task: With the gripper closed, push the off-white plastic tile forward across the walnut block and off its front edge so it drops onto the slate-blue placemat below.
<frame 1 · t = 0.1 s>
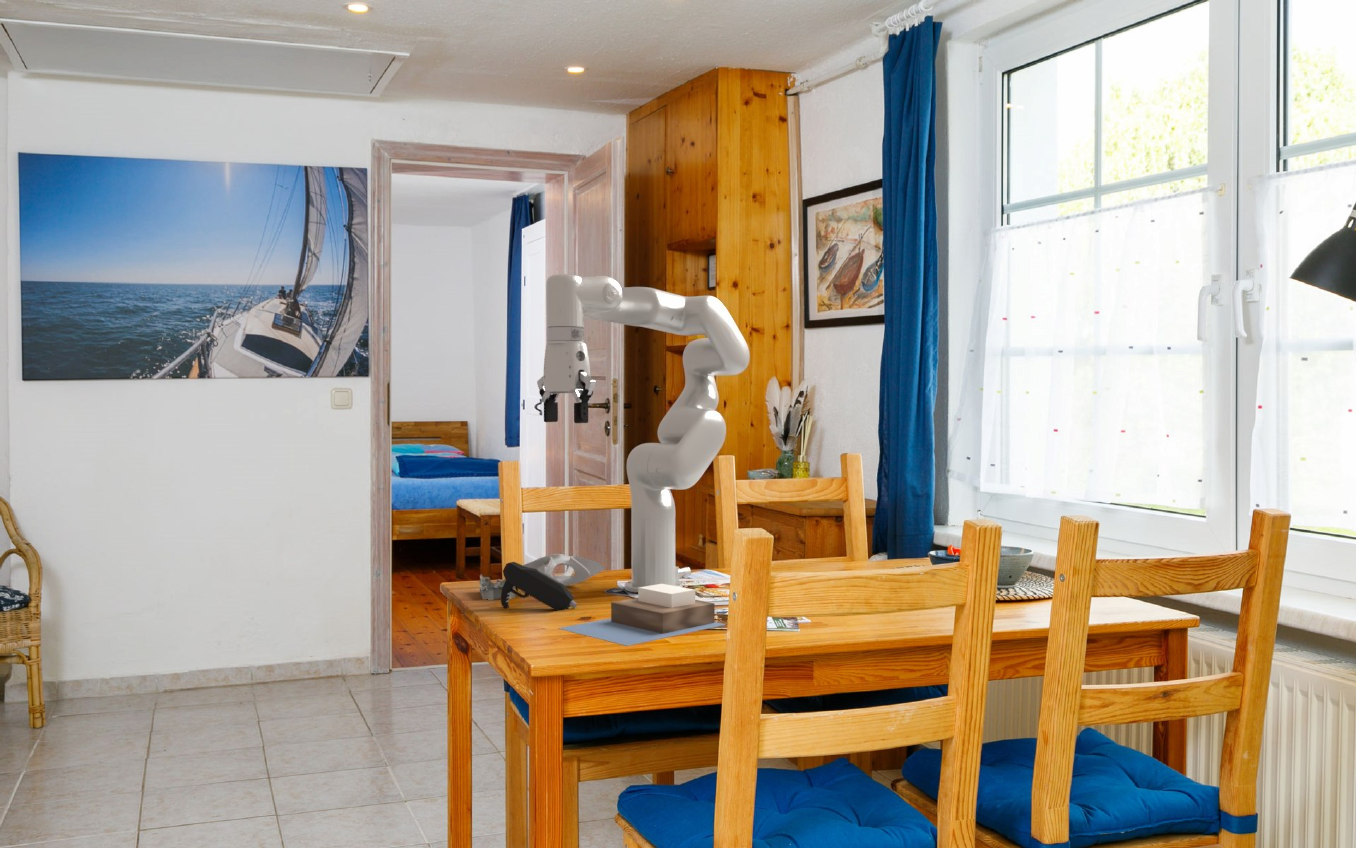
hand: (565, 422, 224), 37 cm above the table, tool pointing down, fingers open, 9 cm apart
sculpture: (559, 584, 249), on the table
block: (662, 622, 206), resting on placemat
tile: (666, 602, 206), point 4 cm above the table, touching block
grey castle ruin model: (498, 597, 235), on the table
placemat: (642, 628, 202), on the table
gun: (539, 611, 220), on the table
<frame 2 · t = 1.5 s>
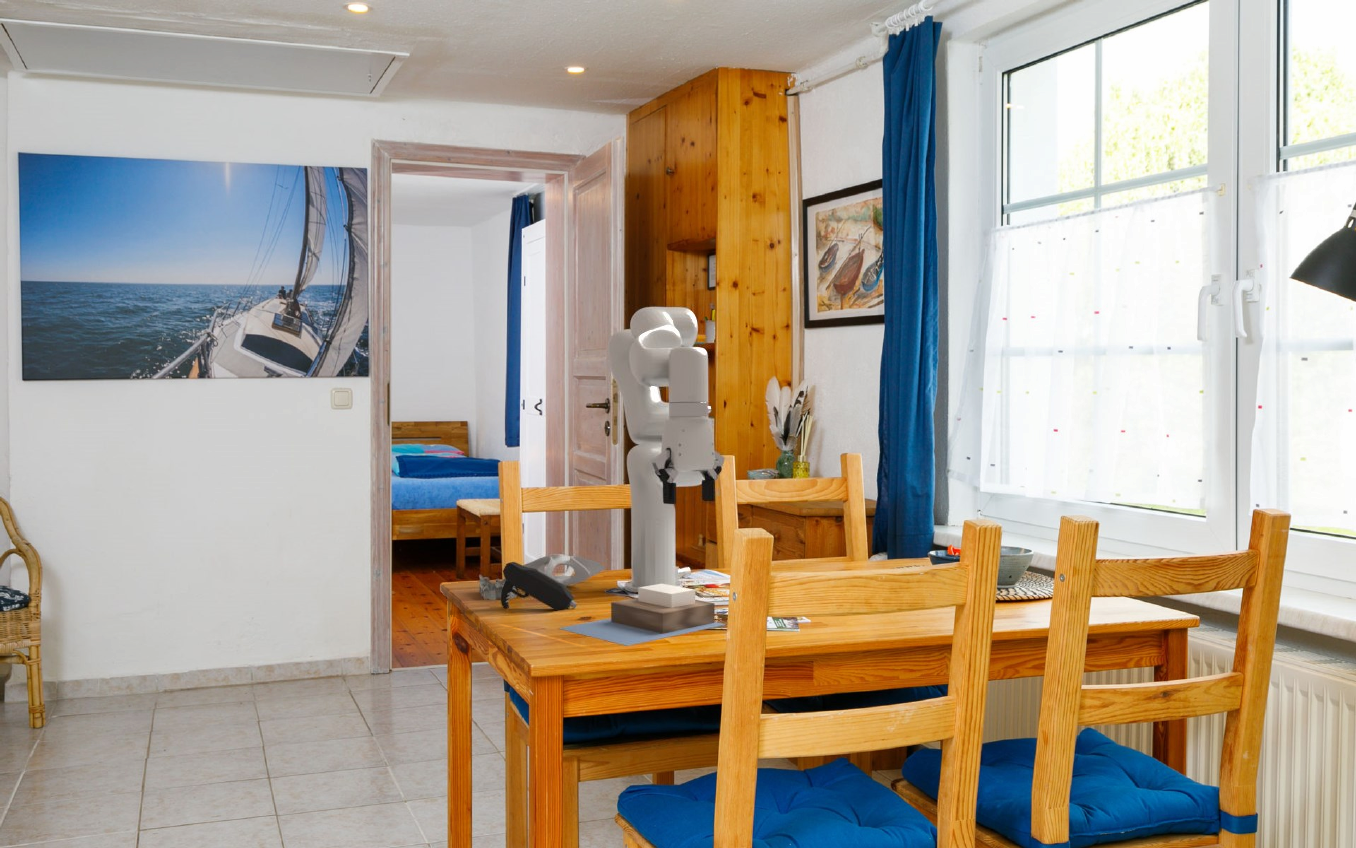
hand: (689, 502, 212), 22 cm above the table, tool pointing down, fingers open, 9 cm apart
nothing on the table moved.
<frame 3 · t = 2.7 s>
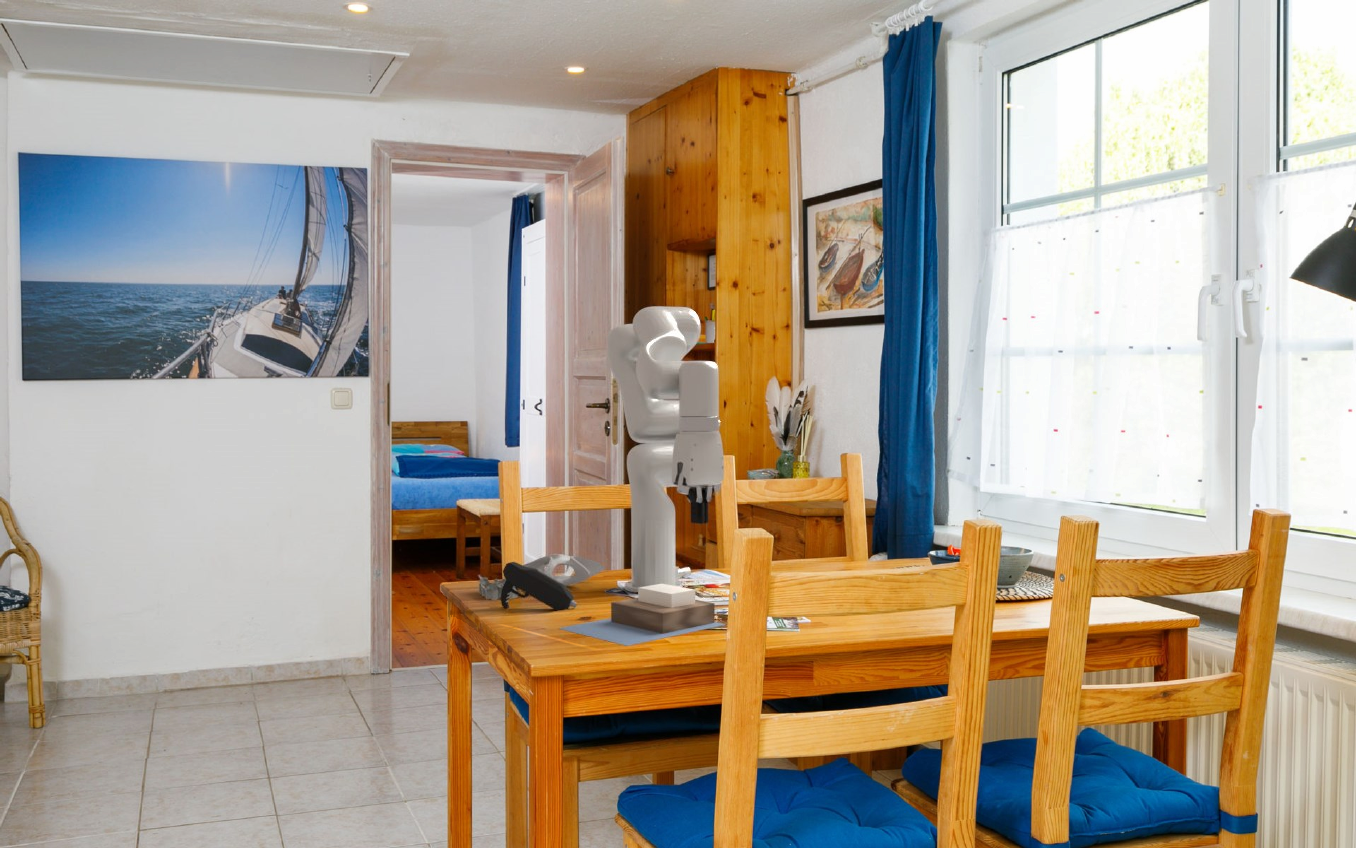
hand: (699, 522, 211), 18 cm above the table, tool pointing down, fingers closed
nothing on the table moved.
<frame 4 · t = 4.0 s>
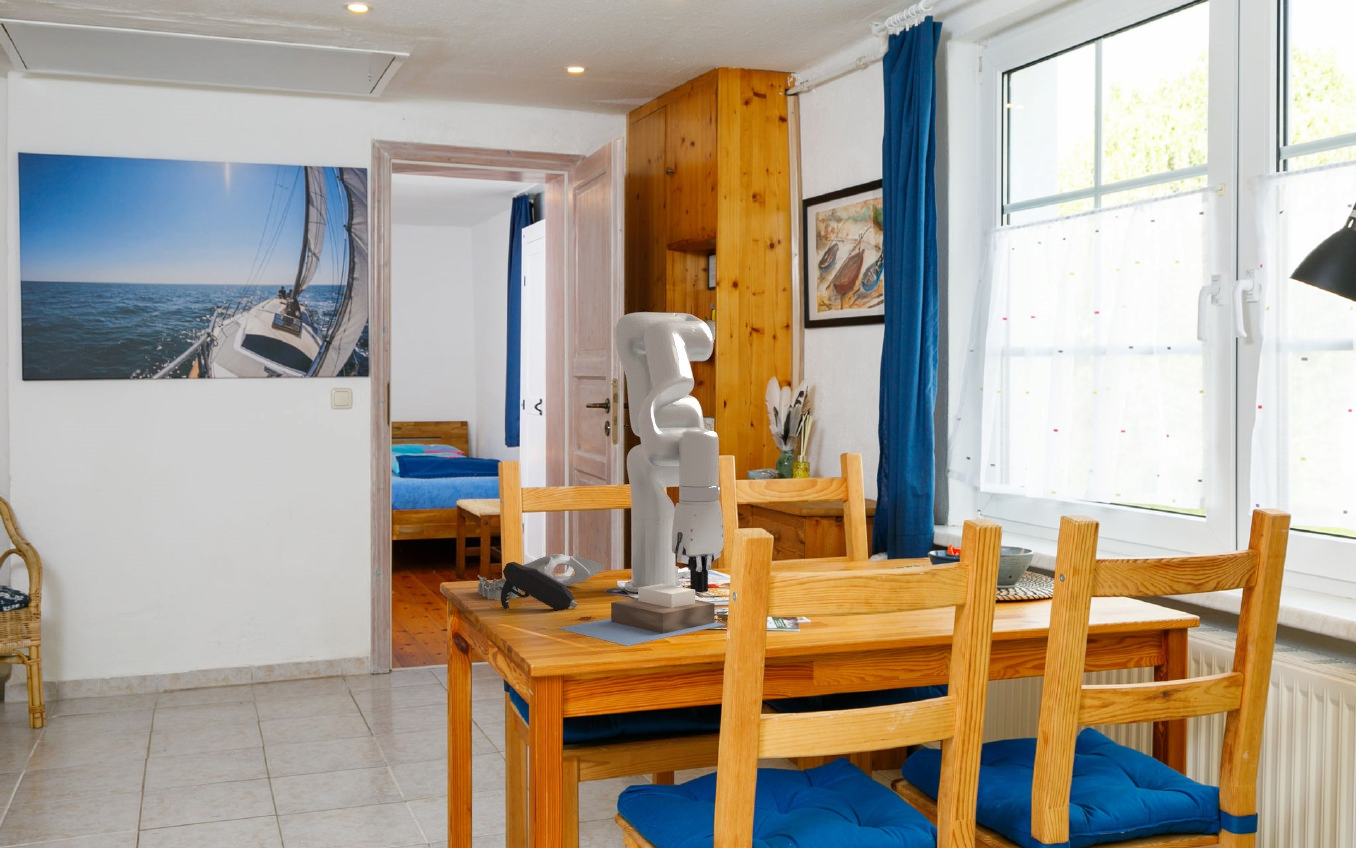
hand: (699, 591, 212), 5 cm above the table, tool pointing down, fingers closed
nothing on the table moved.
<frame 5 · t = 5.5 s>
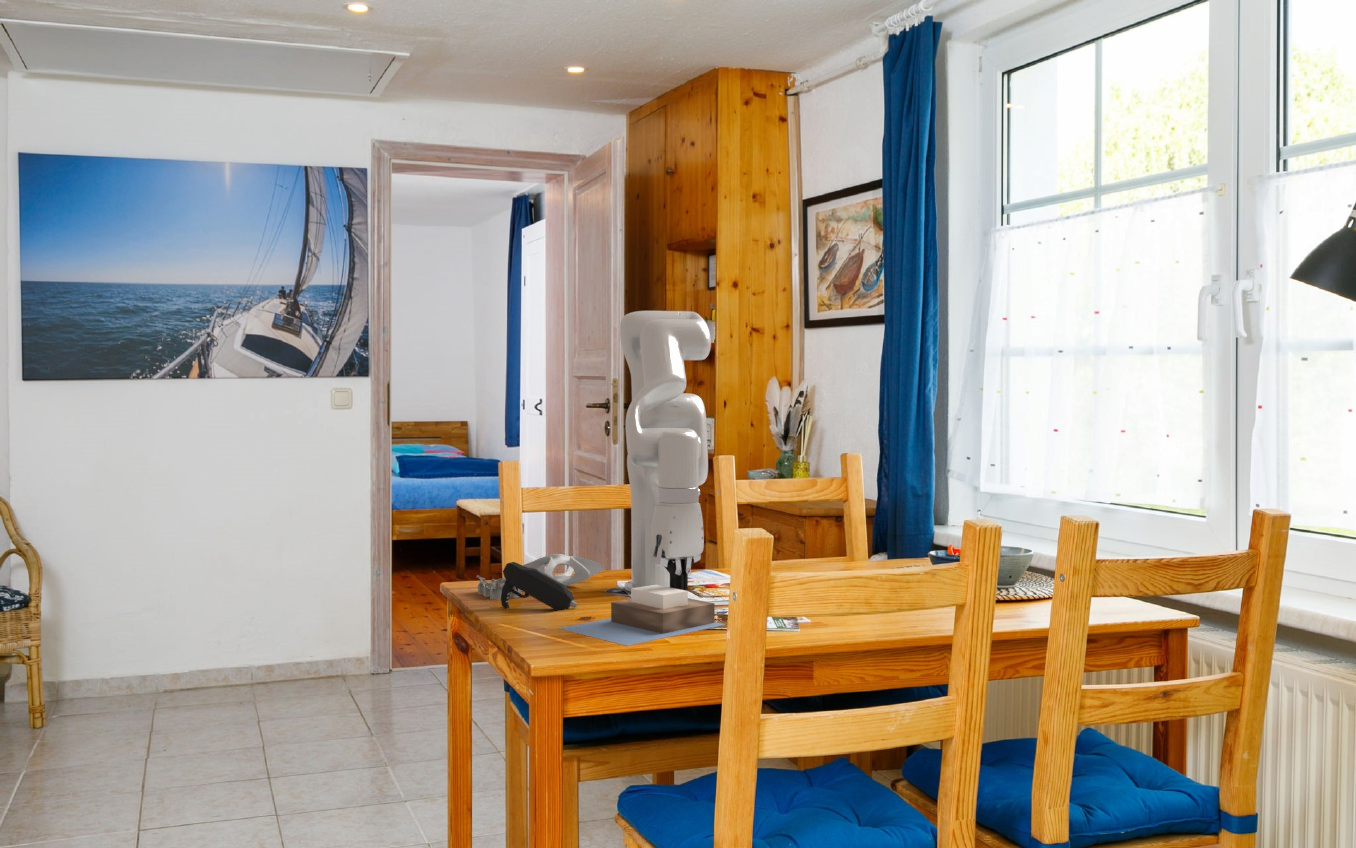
hand: (678, 594, 208), 5 cm above the table, tool pointing down, fingers closed
tile: (659, 603, 205), point 4 cm above the table, touching block, gripper
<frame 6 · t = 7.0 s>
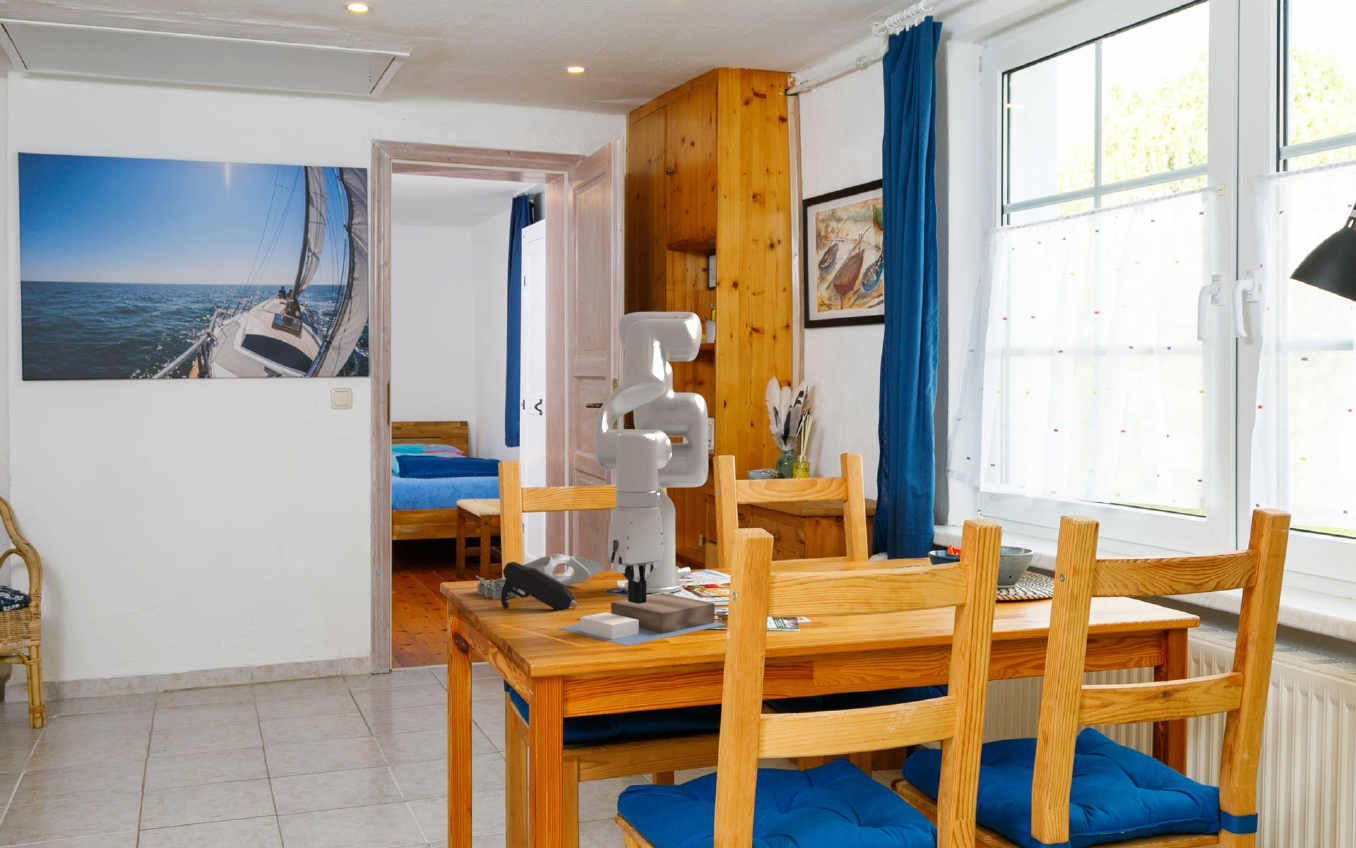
hand: (637, 602, 201), 5 cm above the table, tool pointing down, fingers closed
tile: (609, 618, 197), point 3 cm above the table, tilted 180°, touching placemat
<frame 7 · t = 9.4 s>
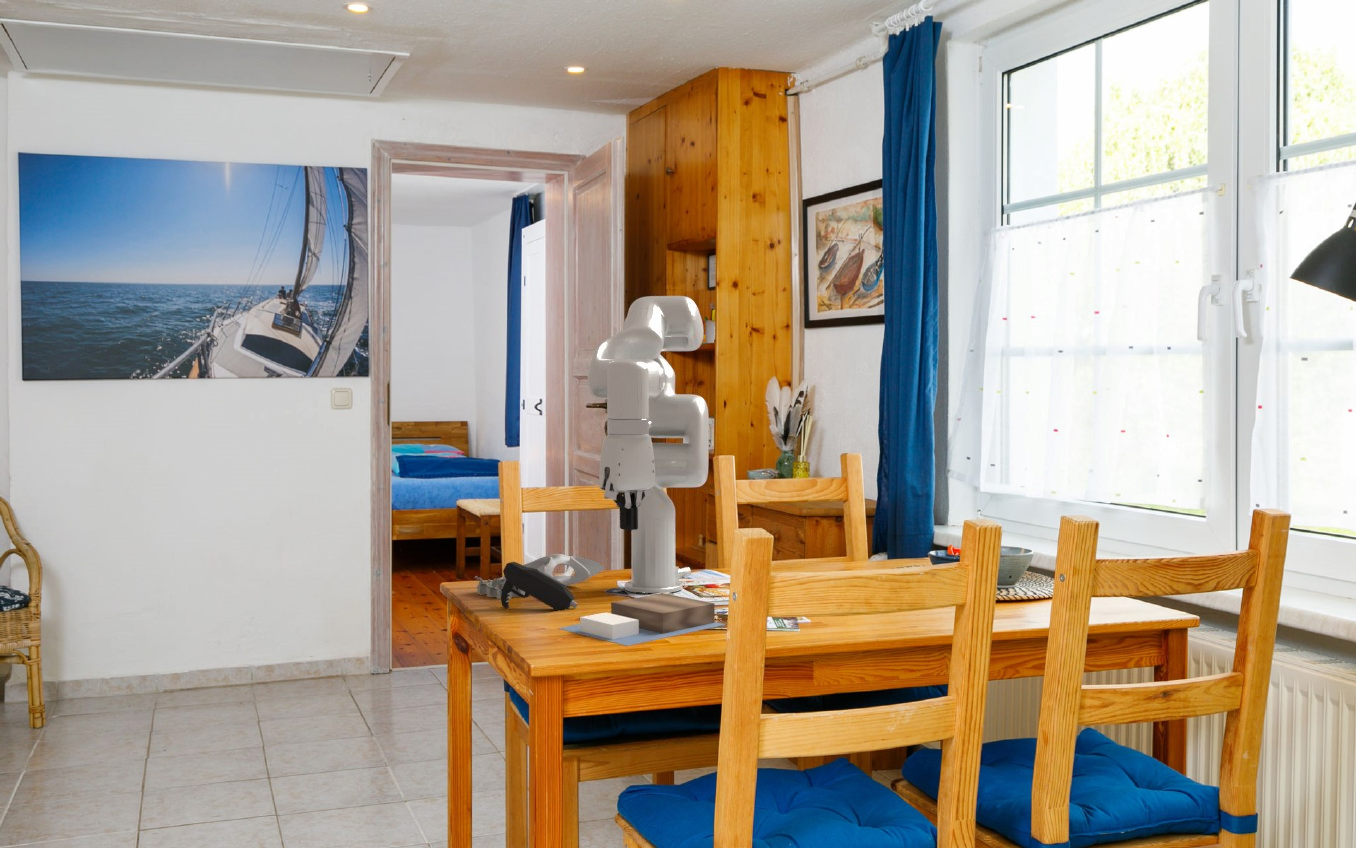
hand: (628, 529, 203), 18 cm above the table, tool pointing down, fingers closed
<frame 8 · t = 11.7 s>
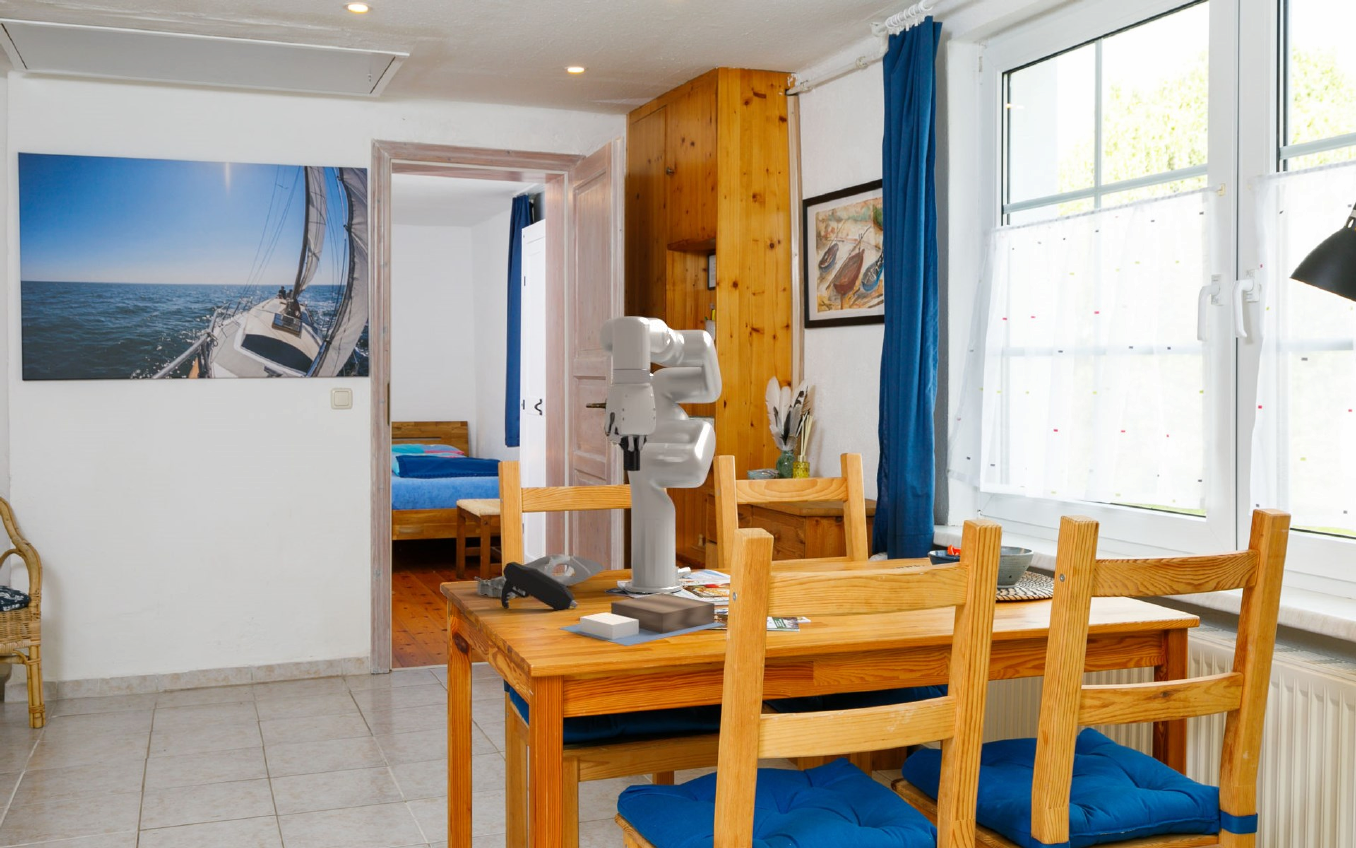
hand: (631, 470, 223), 27 cm above the table, tool pointing down, fingers closed
at the end: tile inside the target area (0.8 cm from its centre), point 2.9 cm above the table; tile touching placemat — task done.
